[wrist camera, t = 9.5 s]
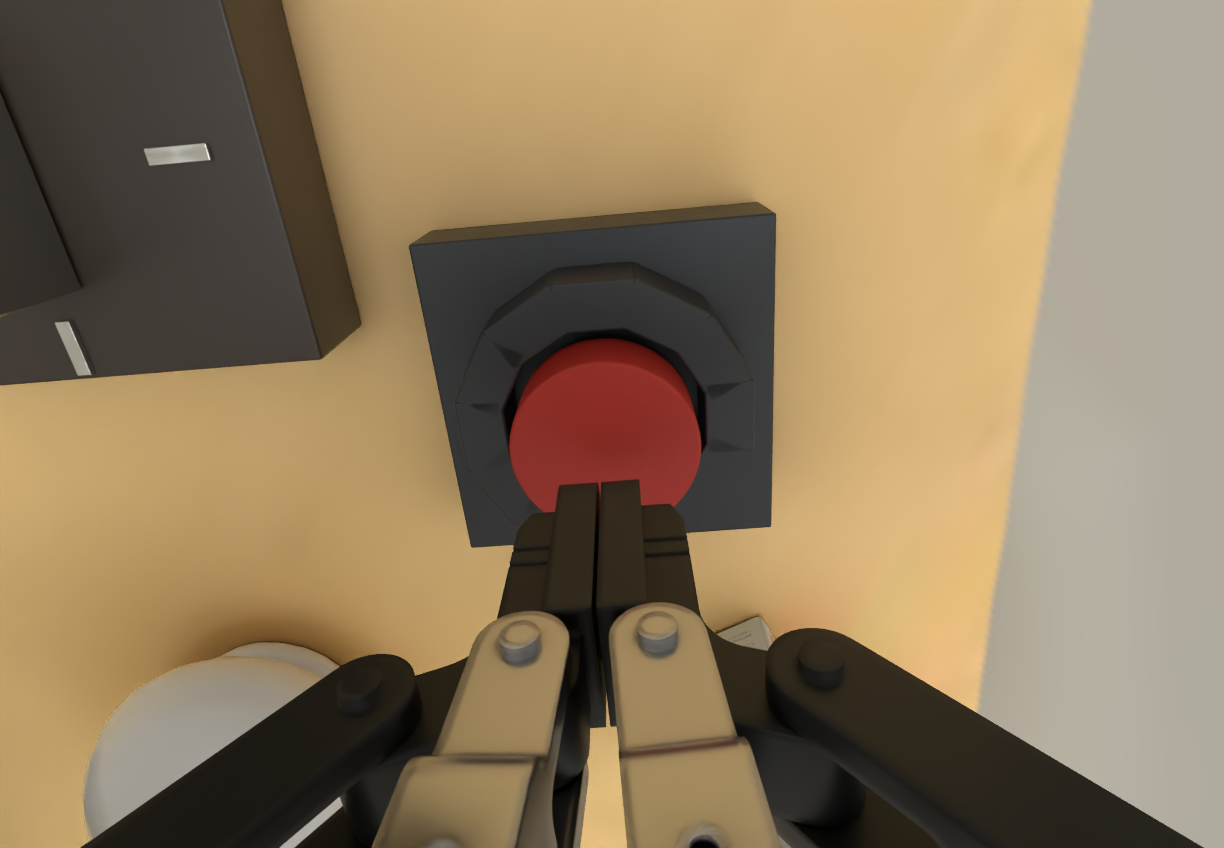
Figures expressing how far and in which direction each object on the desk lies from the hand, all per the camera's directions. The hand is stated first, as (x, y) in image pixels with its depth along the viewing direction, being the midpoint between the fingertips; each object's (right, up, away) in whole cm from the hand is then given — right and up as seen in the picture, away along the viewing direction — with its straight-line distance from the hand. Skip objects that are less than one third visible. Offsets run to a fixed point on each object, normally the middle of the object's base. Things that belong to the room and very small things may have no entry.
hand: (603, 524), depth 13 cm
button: (0, +2, +4) cm, 5 cm away
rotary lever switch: (-14, +9, +5) cm, 17 cm away
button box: (0, +3, +8) cm, 8 cm away
